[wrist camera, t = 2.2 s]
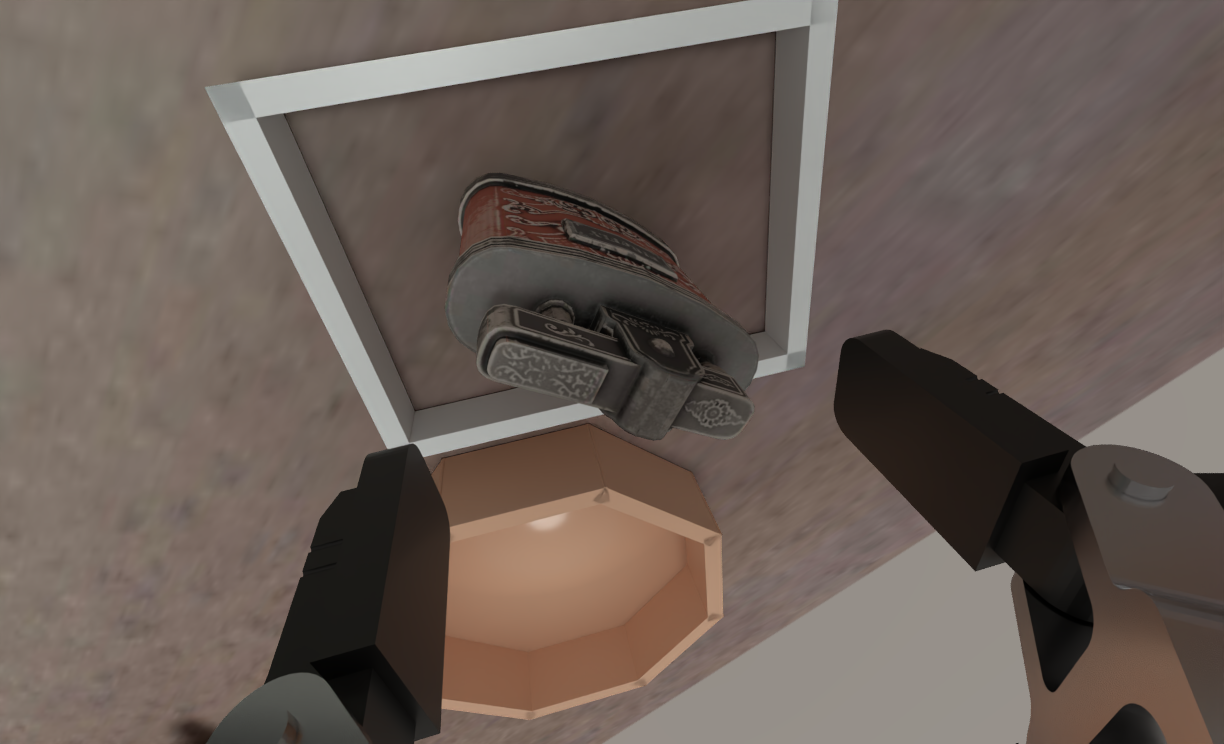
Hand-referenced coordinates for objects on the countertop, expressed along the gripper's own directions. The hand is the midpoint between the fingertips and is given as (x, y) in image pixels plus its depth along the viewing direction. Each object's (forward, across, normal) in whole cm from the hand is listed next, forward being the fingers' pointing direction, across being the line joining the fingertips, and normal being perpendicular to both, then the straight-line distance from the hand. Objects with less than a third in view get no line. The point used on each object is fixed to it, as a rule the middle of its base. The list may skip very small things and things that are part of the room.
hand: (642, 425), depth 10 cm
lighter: (+11, 0, 0) cm, 11 cm away
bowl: (+11, +4, +16) cm, 20 cm away
